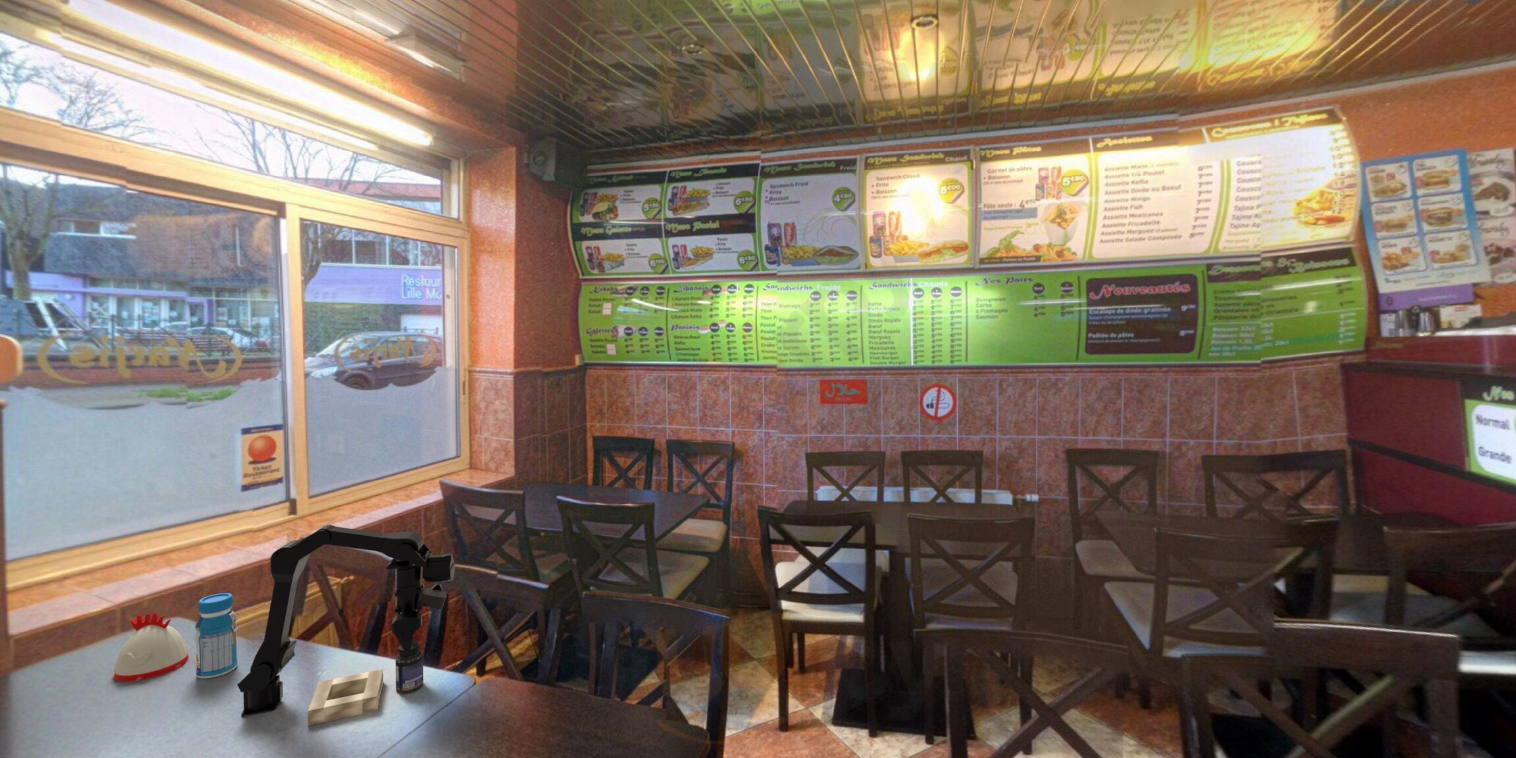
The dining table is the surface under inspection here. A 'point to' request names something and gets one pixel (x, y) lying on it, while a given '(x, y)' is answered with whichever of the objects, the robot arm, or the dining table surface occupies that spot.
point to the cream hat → (150, 650)
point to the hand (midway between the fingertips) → (408, 643)
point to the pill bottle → (409, 669)
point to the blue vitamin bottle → (216, 636)
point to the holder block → (347, 706)
